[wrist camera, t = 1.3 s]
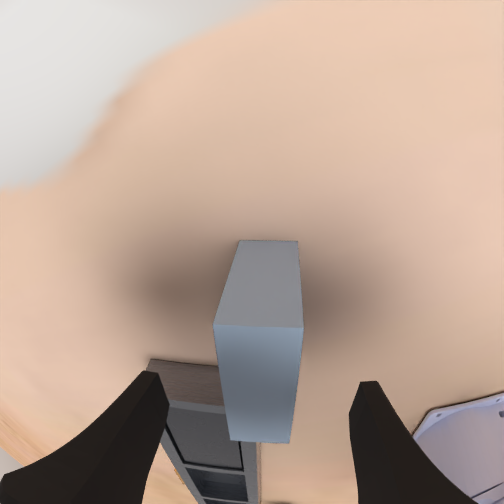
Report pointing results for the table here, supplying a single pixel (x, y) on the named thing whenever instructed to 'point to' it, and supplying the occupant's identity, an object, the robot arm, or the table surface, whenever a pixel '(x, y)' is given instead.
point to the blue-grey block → (260, 340)
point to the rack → (206, 437)
